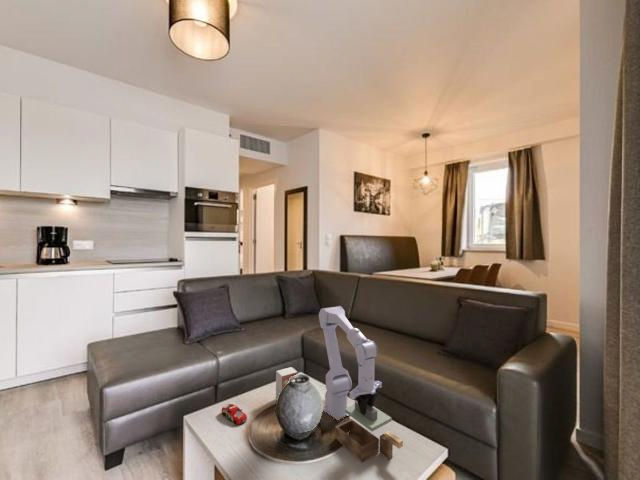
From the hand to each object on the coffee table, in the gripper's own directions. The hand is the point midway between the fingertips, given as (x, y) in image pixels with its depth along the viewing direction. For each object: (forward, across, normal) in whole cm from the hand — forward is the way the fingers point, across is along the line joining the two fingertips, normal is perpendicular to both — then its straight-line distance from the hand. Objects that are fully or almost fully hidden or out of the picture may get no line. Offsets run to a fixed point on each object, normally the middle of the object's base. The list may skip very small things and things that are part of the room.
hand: (365, 411), depth 110 cm
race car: (+11, -34, +41) cm, 54 cm away
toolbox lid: (+3, 0, 0) cm, 3 cm away
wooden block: (+4, +1, -12) cm, 13 cm away
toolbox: (+10, -4, -2) cm, 11 cm away
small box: (+11, -10, +40) cm, 42 cm away
